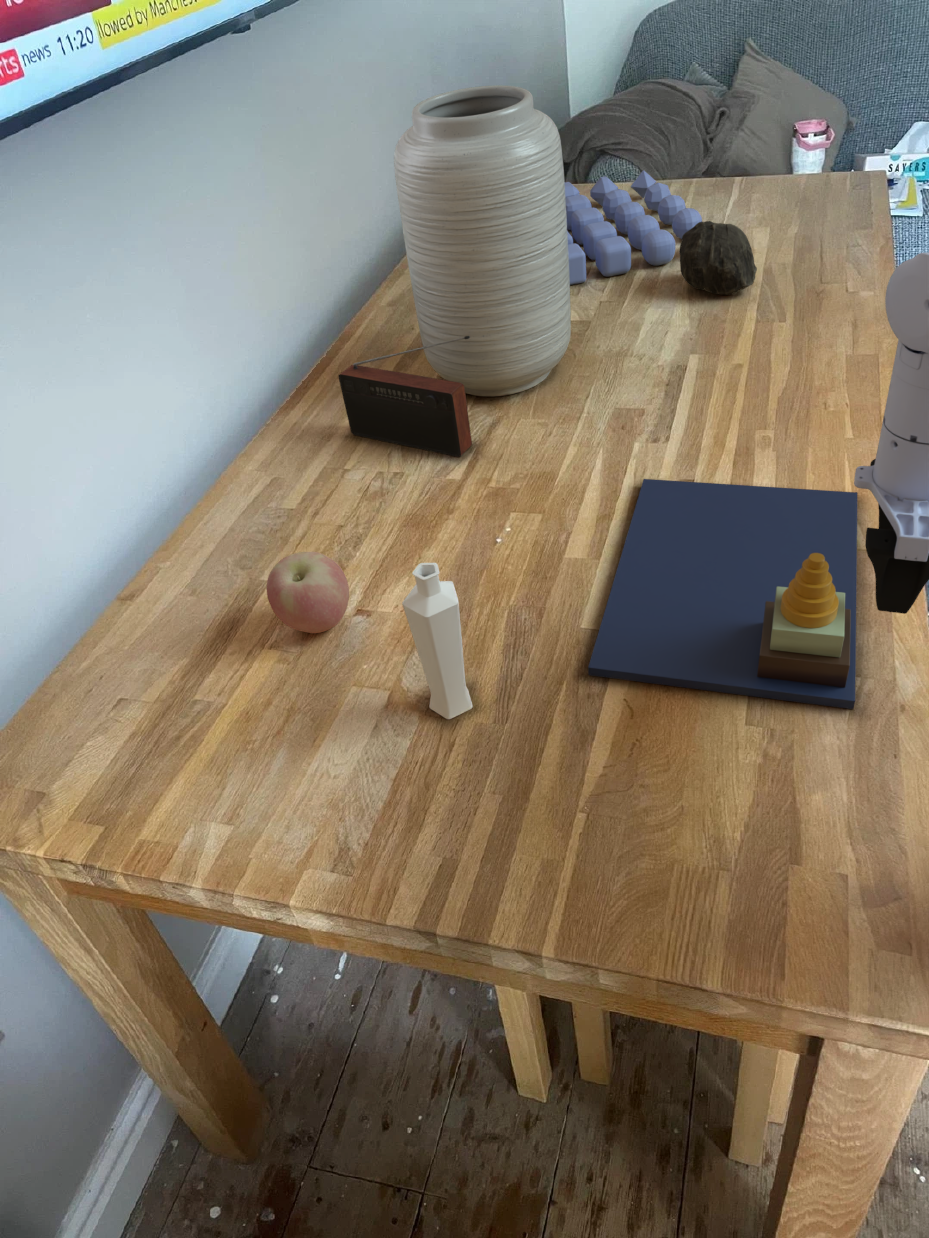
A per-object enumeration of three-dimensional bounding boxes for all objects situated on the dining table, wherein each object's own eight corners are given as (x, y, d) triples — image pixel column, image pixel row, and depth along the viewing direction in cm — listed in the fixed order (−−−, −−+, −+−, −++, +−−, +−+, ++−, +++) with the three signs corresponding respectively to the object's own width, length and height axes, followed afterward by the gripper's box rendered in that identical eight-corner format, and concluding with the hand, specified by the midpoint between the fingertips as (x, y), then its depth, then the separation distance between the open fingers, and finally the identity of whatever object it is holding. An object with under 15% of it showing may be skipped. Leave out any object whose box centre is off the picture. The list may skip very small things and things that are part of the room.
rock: (750, 299, 134) (747, 225, 129) (672, 305, 139) (666, 235, 134) (764, 278, 141) (761, 207, 136) (689, 284, 146) (684, 217, 141)
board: (853, 709, 77) (855, 701, 76) (588, 675, 84) (587, 667, 83) (856, 500, 98) (857, 492, 97) (643, 486, 104) (643, 478, 104)
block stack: (845, 688, 77) (854, 643, 74) (757, 677, 80) (761, 633, 76) (846, 631, 82) (855, 587, 79) (763, 622, 84) (768, 579, 81)
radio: (349, 436, 121) (324, 325, 111) (363, 424, 122) (339, 314, 113) (474, 462, 112) (458, 345, 102) (486, 449, 114) (472, 333, 104)
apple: (263, 635, 93) (241, 572, 88) (314, 590, 97) (295, 528, 92) (323, 661, 89) (303, 597, 84) (372, 613, 94) (356, 549, 88)
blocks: (471, 226, 173) (467, 198, 170) (652, 192, 175) (652, 163, 172) (511, 298, 147) (508, 267, 143) (723, 257, 148) (725, 225, 145)
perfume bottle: (464, 727, 81) (440, 594, 71) (420, 715, 82) (390, 583, 73) (486, 690, 84) (466, 558, 74) (442, 679, 85) (417, 548, 76)
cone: (848, 615, 77) (859, 561, 73) (805, 635, 75) (813, 581, 72) (811, 586, 80) (819, 533, 76) (769, 605, 79) (775, 552, 75)
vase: (568, 406, 119) (552, 118, 97) (414, 411, 123) (365, 135, 101) (578, 335, 134) (567, 70, 112) (440, 341, 138) (403, 87, 116)
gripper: (868, 369, 70) (843, 517, 79) (860, 476, 60) (832, 632, 69) (973, 374, 68) (935, 526, 77) (983, 486, 58) (937, 645, 67)
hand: (892, 577), depth 73 cm, fingers open, 7 cm apart
